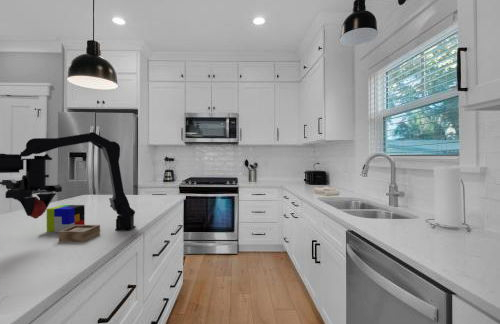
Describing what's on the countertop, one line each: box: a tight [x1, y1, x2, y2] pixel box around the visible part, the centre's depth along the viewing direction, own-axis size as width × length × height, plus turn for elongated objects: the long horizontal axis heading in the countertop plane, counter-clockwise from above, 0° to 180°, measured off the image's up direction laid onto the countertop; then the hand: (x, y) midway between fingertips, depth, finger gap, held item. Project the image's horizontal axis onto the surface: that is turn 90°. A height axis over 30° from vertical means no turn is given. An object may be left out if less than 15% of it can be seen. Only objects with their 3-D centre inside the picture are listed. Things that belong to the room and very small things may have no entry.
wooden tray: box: [58, 224, 101, 242], centre depth 104 cm, size 10×10×4 cm
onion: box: [30, 196, 47, 220], centre depth 95 cm, size 6×6×8 cm
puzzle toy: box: [46, 204, 86, 233], centre depth 117 cm, size 10×10×10 cm
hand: (36, 214), depth 96 cm, fingers closed on onion, 6 cm apart
